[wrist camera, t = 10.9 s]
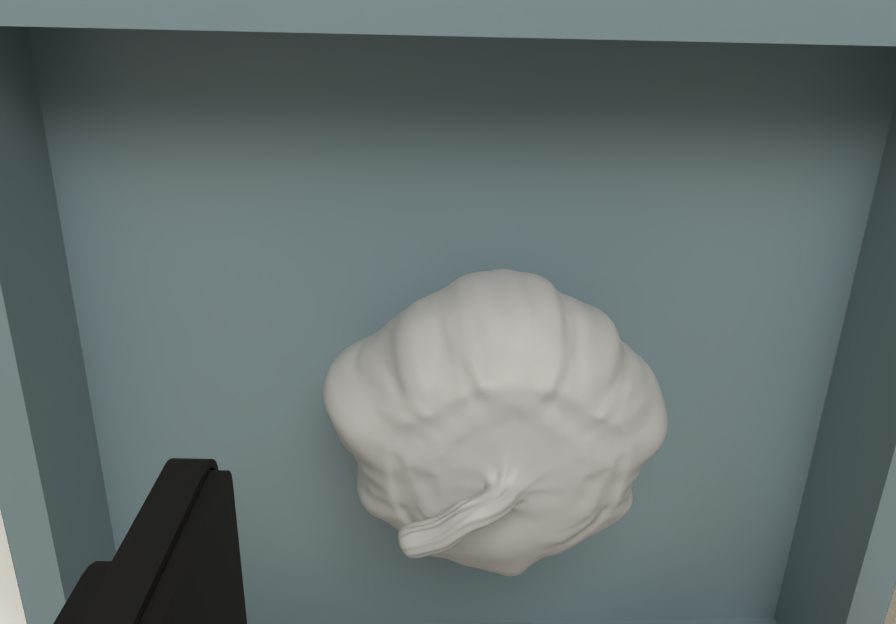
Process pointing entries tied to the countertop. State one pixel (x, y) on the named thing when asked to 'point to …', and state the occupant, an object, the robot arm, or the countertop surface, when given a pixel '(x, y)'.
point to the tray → (440, 263)
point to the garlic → (496, 421)
